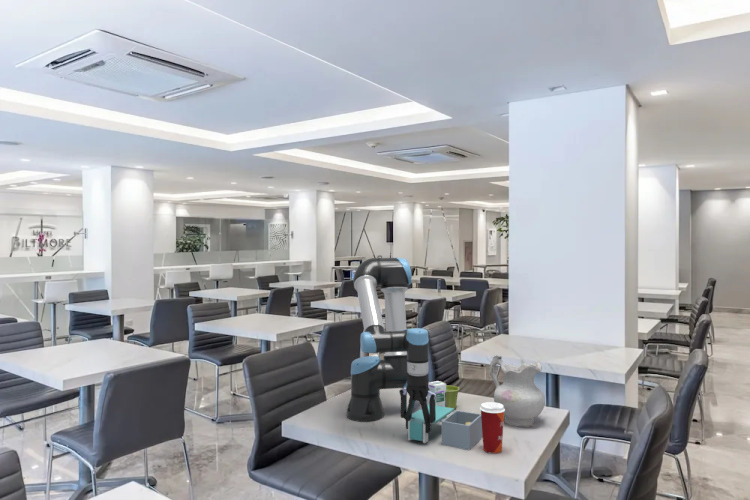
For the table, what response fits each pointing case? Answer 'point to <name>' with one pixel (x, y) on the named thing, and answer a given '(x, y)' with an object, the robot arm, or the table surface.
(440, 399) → the syrup box
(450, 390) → the plant pot
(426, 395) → the robot arm
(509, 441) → the table surface
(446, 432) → the parts tub
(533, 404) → the ceramic pitcher
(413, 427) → the snap lid
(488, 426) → the coffee cup
